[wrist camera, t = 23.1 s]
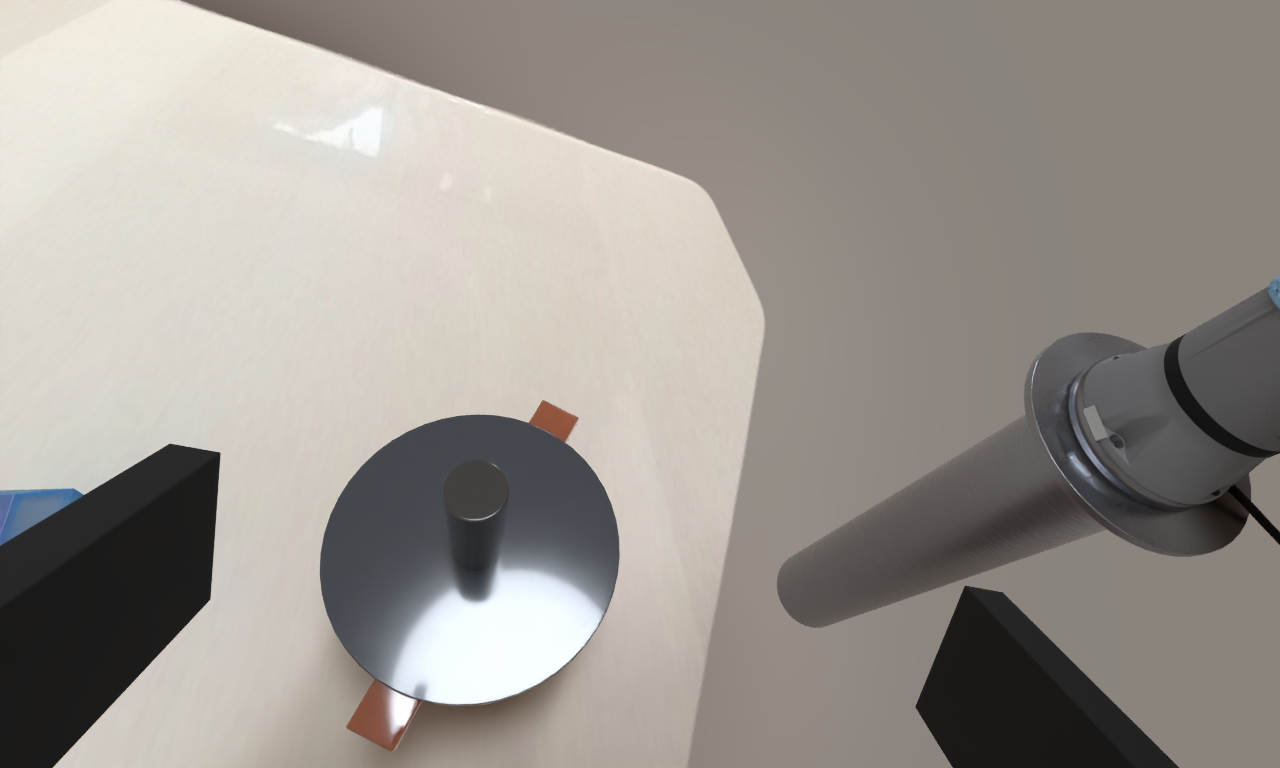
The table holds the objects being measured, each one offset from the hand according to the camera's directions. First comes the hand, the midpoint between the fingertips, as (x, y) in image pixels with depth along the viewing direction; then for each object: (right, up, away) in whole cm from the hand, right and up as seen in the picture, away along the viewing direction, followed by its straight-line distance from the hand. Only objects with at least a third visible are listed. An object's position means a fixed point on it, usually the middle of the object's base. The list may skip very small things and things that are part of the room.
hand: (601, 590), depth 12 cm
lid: (-8, -5, +22) cm, 24 cm away
